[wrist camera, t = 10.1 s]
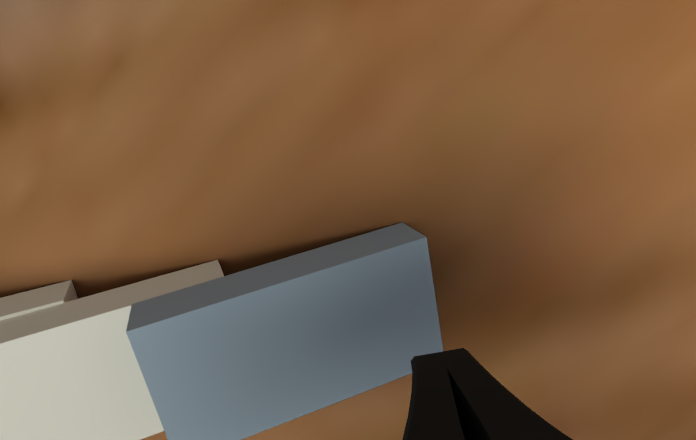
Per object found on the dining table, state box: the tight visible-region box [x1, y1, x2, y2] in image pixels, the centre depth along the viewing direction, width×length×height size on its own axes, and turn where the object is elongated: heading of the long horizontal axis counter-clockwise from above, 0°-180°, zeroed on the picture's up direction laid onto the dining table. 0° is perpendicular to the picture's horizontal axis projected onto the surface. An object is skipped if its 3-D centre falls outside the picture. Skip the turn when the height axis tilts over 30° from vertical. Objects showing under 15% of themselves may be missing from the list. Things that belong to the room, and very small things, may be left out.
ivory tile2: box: [0, 260, 224, 440], centre depth 16 cm, size 2×5×9 cm
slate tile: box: [126, 222, 443, 440], centre depth 16 cm, size 2×5×9 cm
